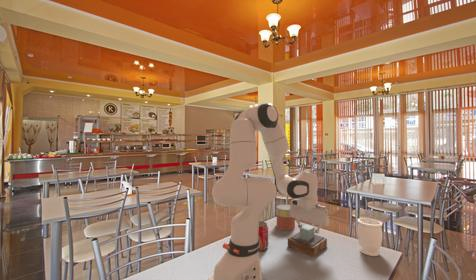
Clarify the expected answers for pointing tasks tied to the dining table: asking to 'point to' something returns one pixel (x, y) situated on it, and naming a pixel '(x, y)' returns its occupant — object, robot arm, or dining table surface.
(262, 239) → the beverage can
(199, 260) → the dining table surface
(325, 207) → the robot arm
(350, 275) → the dining table surface
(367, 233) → the jar
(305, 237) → the pale green block
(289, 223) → the canned food
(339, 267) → the dining table surface
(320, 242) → the walnut picture frame
